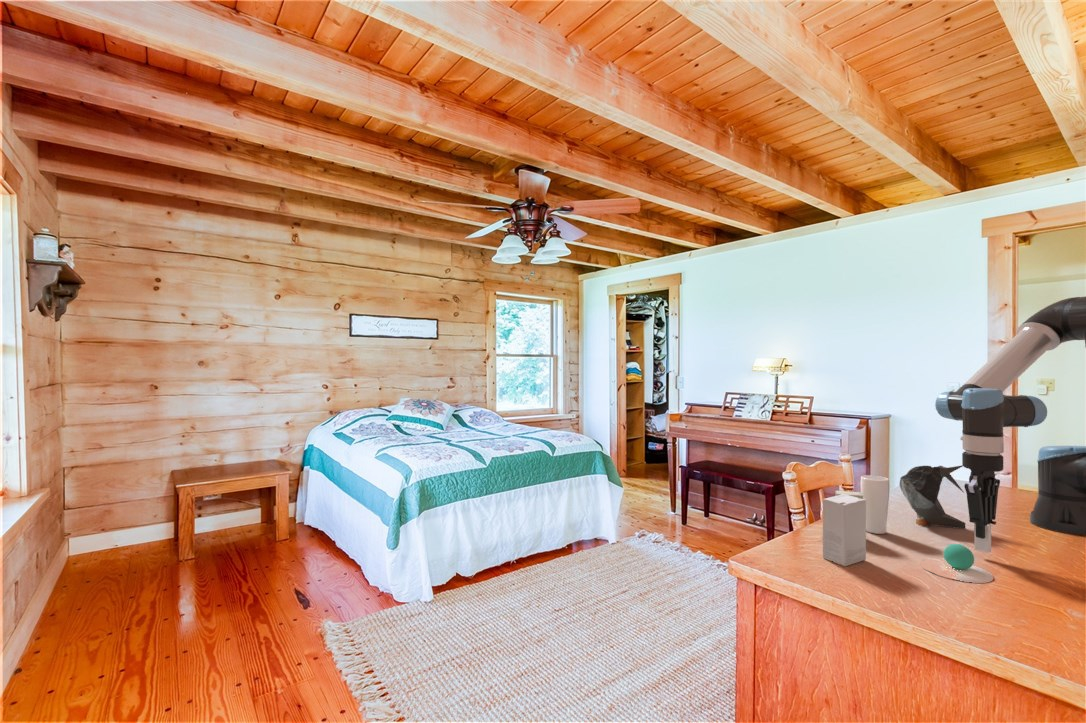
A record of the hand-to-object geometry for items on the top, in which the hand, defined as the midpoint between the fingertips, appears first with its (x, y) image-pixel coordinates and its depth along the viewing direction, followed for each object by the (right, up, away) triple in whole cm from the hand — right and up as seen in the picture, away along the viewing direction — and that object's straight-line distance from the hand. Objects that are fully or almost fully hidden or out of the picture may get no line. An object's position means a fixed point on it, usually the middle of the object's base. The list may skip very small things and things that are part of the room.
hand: (982, 550), depth 123 cm
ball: (-11, +1, -6) cm, 12 cm away
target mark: (-12, -2, -7) cm, 14 cm away
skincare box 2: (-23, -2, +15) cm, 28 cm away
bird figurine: (+7, -2, +26) cm, 27 cm away
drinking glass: (-13, -2, +20) cm, 24 cm away
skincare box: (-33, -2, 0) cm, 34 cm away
